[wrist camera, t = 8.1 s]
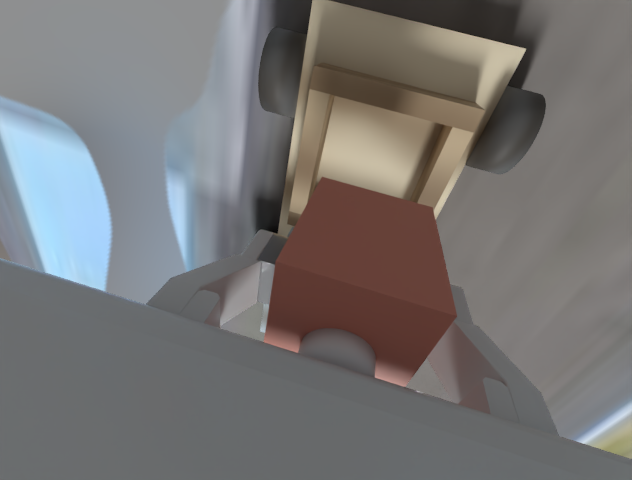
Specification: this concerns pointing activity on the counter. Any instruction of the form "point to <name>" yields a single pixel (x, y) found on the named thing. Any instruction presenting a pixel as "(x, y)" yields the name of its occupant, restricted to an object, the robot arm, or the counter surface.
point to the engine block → (361, 283)
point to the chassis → (392, 106)
